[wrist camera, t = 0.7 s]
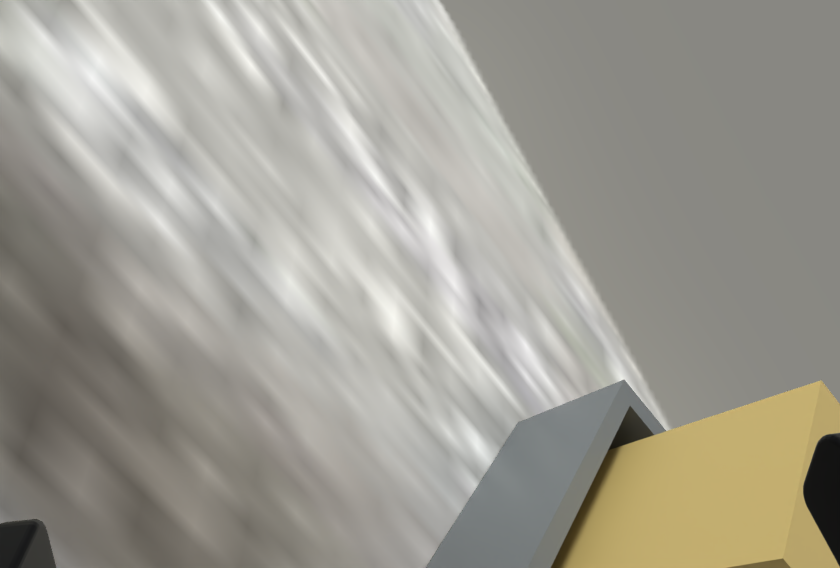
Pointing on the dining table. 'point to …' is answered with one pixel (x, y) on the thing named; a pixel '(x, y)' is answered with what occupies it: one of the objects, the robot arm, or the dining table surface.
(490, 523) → the sleeve
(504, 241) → the dining table surface
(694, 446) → the ochre block
